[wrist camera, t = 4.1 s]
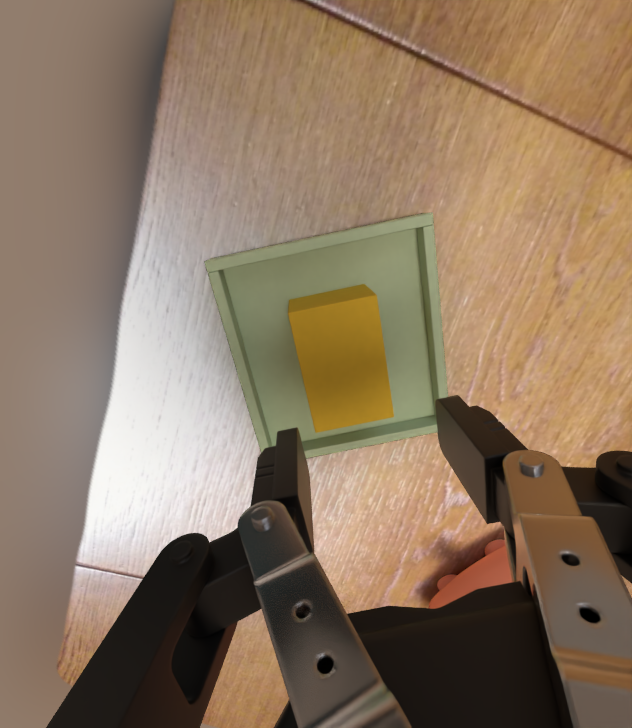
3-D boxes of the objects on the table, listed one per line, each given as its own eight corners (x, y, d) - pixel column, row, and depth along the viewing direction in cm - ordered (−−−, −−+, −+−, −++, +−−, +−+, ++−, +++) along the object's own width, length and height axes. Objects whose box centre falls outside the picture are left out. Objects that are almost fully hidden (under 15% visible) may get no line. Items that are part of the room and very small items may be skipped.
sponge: (288, 299, 22) (287, 313, 19) (364, 283, 22) (377, 294, 19) (312, 405, 25) (315, 433, 21) (381, 391, 24) (394, 417, 21)
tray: (210, 258, 22) (203, 261, 20) (422, 213, 21) (433, 212, 20) (267, 452, 26) (265, 467, 25) (441, 417, 26) (451, 429, 24)
